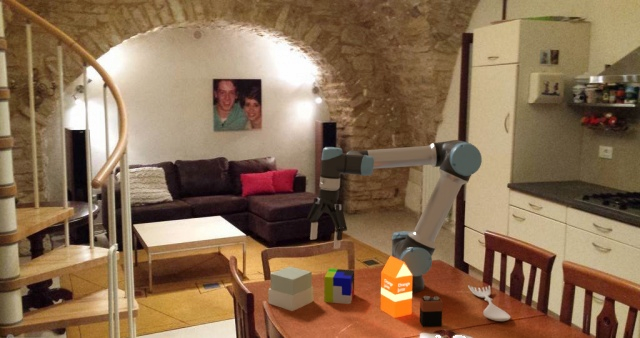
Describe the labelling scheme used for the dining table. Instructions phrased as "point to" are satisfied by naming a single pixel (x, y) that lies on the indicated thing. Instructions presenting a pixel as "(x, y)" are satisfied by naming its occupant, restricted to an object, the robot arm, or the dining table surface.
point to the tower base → (290, 299)
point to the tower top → (291, 280)
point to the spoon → (490, 306)
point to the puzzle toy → (339, 286)
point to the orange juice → (396, 288)
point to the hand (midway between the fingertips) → (324, 243)
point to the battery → (431, 311)
